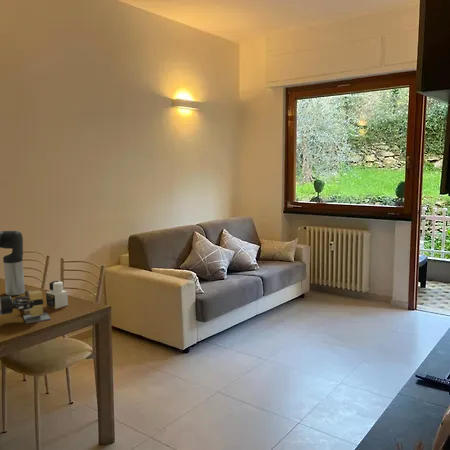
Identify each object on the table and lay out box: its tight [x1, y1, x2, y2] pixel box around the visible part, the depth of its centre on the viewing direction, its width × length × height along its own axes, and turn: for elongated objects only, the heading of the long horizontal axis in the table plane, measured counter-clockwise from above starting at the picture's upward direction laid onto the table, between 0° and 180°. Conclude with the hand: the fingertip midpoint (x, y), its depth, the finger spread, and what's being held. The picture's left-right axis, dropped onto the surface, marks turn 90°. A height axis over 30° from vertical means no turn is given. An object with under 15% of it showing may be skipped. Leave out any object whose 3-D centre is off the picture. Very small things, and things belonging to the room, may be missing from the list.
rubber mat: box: [22, 311, 51, 324], centre depth 206 cm, size 10×10×1 cm
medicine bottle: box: [45, 280, 69, 310], centre depth 222 cm, size 7×7×12 cm
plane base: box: [22, 289, 45, 316], centre depth 220 cm, size 20×8×8 cm, turn 30°
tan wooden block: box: [28, 289, 44, 317], centre depth 205 cm, size 5×5×10 cm
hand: (41, 300), depth 206 cm, fingers closed on tan wooden block, 5 cm apart
